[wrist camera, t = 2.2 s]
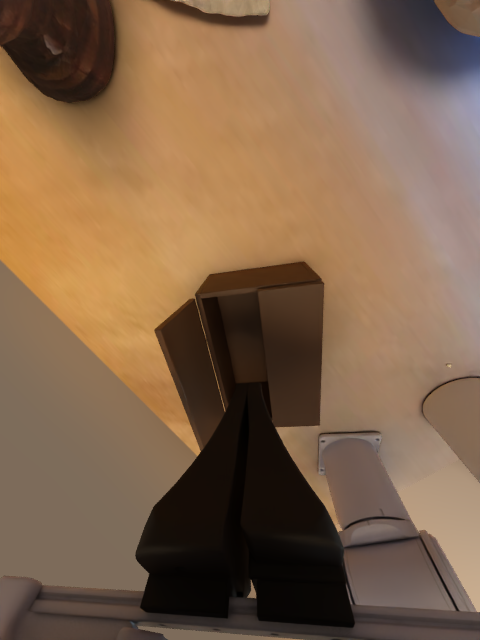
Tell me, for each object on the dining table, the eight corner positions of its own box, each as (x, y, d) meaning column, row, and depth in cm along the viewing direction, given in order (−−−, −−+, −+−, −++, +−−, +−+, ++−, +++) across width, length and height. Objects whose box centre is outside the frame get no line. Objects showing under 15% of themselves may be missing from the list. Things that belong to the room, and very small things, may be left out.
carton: (306, 378, 25) (320, 426, 19) (233, 383, 26) (227, 429, 20) (304, 261, 19) (325, 282, 13) (209, 274, 20) (191, 298, 14)
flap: (214, 476, 17) (210, 475, 17) (229, 428, 20) (225, 428, 21) (160, 329, 11) (153, 329, 11) (195, 298, 14) (189, 298, 14)
